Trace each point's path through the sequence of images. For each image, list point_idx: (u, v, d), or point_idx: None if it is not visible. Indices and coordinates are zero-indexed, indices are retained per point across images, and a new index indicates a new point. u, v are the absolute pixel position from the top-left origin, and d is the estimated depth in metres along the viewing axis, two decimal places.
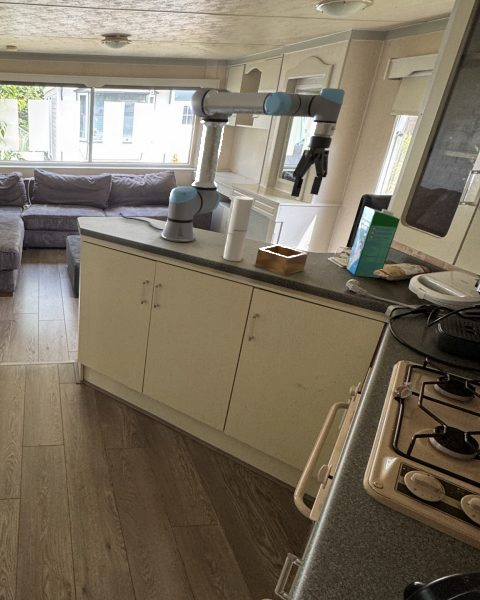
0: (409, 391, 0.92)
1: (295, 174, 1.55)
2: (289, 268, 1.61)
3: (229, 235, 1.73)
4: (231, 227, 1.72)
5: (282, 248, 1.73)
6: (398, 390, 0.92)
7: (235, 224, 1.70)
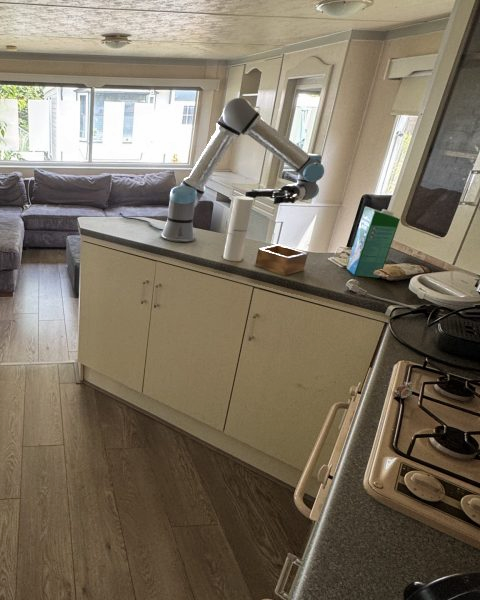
0: (409, 391, 0.92)
1: (294, 199, 1.71)
2: (289, 268, 1.61)
3: (229, 235, 1.73)
4: (231, 227, 1.72)
5: (282, 248, 1.73)
6: (398, 390, 0.92)
7: (235, 224, 1.70)
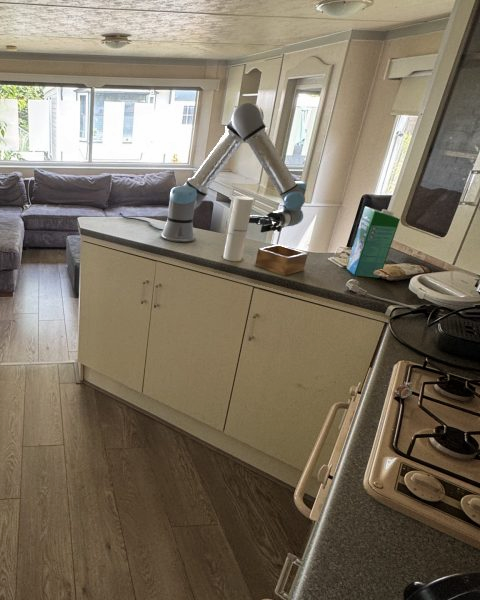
0: (409, 391, 0.92)
1: (280, 228, 1.73)
2: (289, 268, 1.61)
3: (229, 235, 1.73)
4: (231, 227, 1.72)
5: (282, 248, 1.73)
6: (398, 390, 0.92)
7: (235, 224, 1.70)
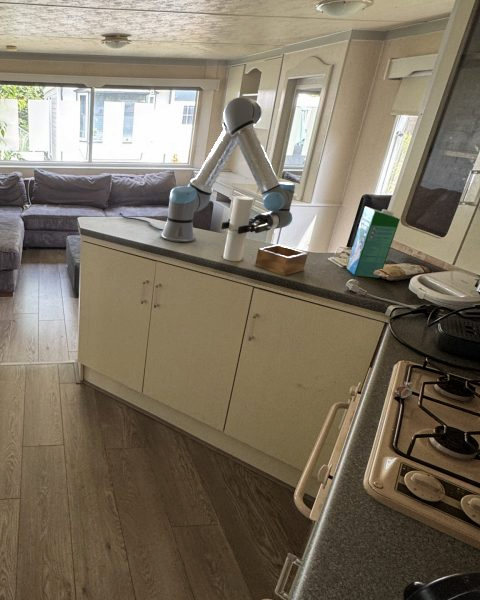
0: (409, 391, 0.92)
1: (258, 229, 1.69)
2: (289, 268, 1.61)
3: (229, 235, 1.74)
4: (231, 226, 1.72)
5: (282, 248, 1.73)
6: (398, 390, 0.92)
7: (235, 224, 1.70)
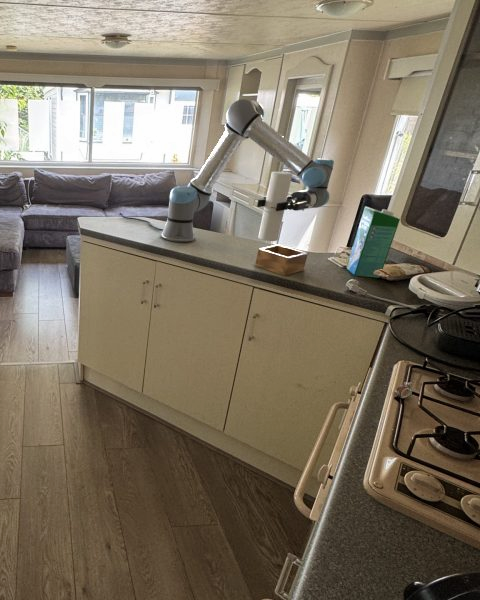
0: (409, 391, 0.92)
1: (297, 206, 1.59)
2: (289, 268, 1.61)
3: (265, 213, 1.63)
4: (268, 204, 1.62)
5: (282, 248, 1.73)
6: (398, 390, 0.92)
7: (272, 201, 1.60)
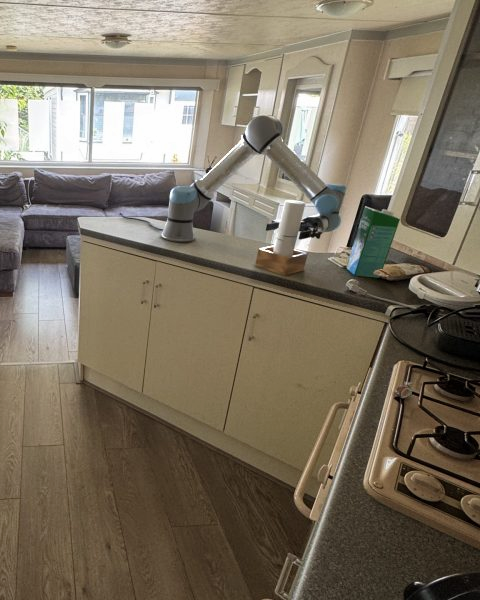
0: (409, 391, 0.92)
1: None
2: (289, 268, 1.61)
3: (278, 241, 1.64)
4: (281, 232, 1.62)
5: None
6: (398, 390, 0.92)
7: (285, 230, 1.61)
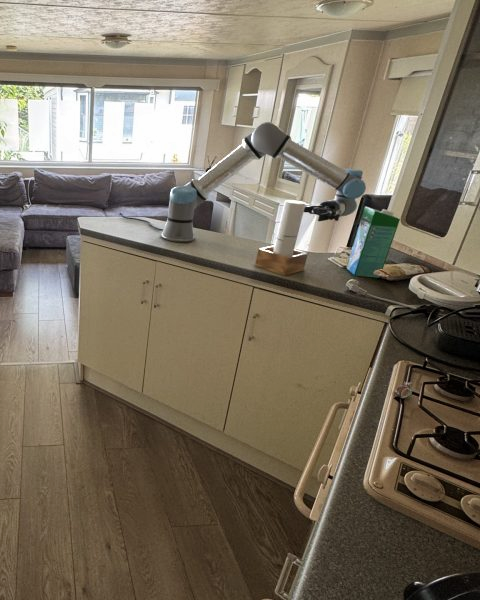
0: (409, 391, 0.92)
1: (338, 217, 1.65)
2: (289, 268, 1.61)
3: (278, 241, 1.64)
4: (281, 232, 1.62)
5: None
6: (398, 390, 0.92)
7: (285, 230, 1.61)
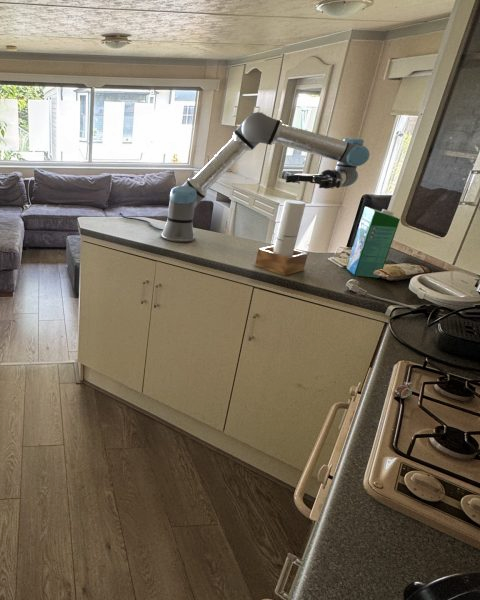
0: (409, 391, 0.92)
1: (340, 183, 1.63)
2: (289, 268, 1.61)
3: (278, 241, 1.64)
4: (281, 232, 1.62)
5: None
6: (398, 390, 0.92)
7: (285, 230, 1.61)
